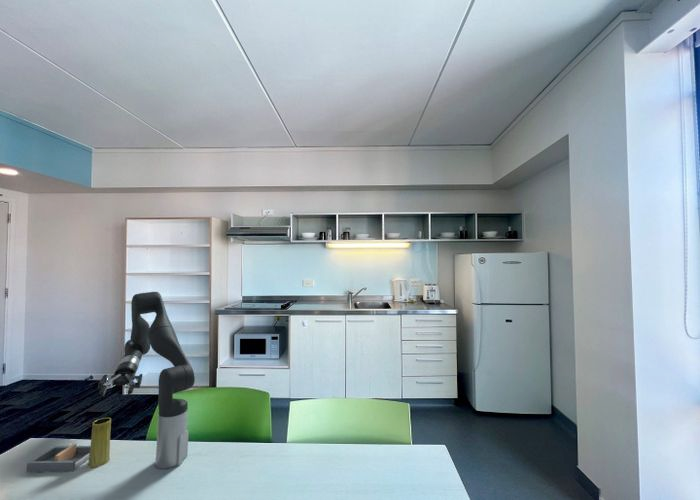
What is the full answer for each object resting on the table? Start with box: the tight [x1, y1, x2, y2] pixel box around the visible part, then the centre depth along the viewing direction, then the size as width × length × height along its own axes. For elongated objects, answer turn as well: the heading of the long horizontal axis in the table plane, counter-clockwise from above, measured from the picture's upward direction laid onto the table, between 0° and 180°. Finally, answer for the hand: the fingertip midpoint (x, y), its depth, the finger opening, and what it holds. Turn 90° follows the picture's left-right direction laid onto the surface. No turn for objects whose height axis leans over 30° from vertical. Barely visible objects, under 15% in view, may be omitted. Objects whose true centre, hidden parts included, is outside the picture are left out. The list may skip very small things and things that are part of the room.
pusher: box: [55, 443, 78, 461], centre depth 108 cm, size 1×7×4 cm, turn 3°
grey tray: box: [25, 445, 91, 473], centre depth 108 cm, size 15×10×3 cm, turn 93°
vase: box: [87, 417, 112, 468], centre depth 109 cm, size 6×6×14 cm
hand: (115, 393), depth 120 cm, fingers open, 8 cm apart
